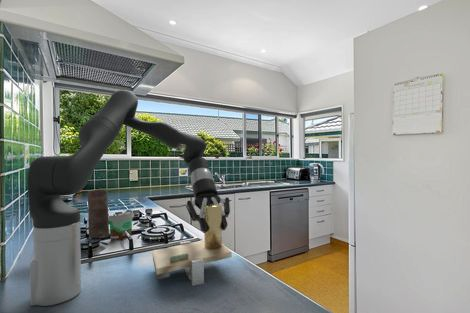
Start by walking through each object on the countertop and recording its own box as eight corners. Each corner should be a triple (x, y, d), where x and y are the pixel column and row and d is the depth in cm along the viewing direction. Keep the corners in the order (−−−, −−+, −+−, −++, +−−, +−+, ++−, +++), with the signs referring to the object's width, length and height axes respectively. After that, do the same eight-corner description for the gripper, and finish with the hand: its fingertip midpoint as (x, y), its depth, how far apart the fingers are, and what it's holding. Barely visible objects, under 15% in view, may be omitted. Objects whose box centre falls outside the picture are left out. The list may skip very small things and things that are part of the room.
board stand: (192, 285, 65) (192, 262, 65) (180, 261, 80) (180, 242, 80) (203, 283, 66) (203, 260, 66) (189, 259, 82) (189, 240, 82)
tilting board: (157, 279, 64) (156, 263, 64) (153, 259, 76) (152, 246, 76) (232, 261, 71) (231, 246, 71) (217, 246, 83) (216, 233, 83)
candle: (90, 241, 100) (89, 190, 100) (86, 237, 105) (85, 188, 105) (111, 237, 105) (110, 188, 105) (106, 233, 111) (105, 187, 110)
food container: (122, 242, 99) (122, 216, 99) (108, 241, 100) (108, 216, 100) (140, 233, 111) (140, 210, 111) (127, 232, 112) (127, 209, 112)
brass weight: (207, 250, 73) (207, 208, 73) (202, 244, 78) (202, 204, 77) (224, 247, 75) (224, 206, 75) (218, 241, 80) (218, 203, 79)
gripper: (221, 190, 91) (234, 233, 80) (180, 193, 85) (188, 240, 74) (226, 176, 86) (241, 220, 75) (183, 178, 80) (192, 226, 69)
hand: (215, 230), depth 74 cm, fingers closed on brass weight, 5 cm apart
